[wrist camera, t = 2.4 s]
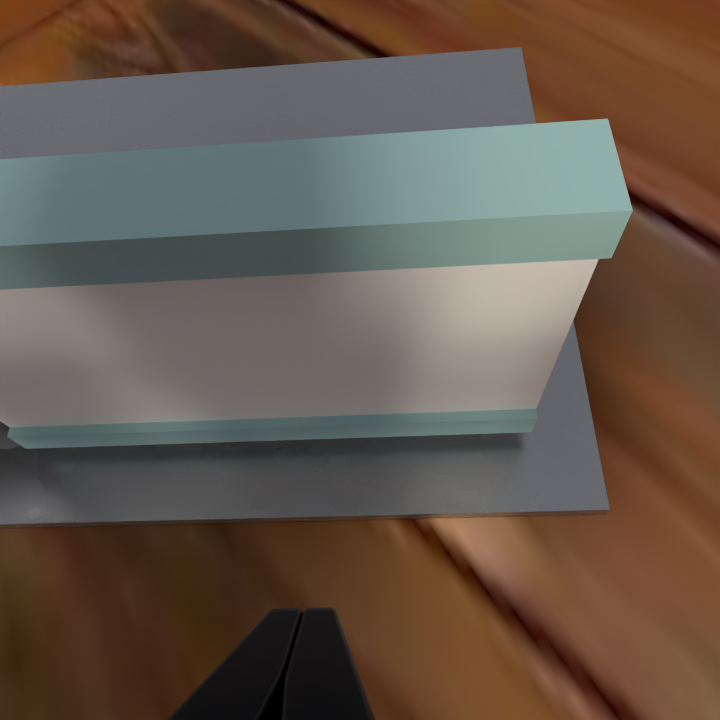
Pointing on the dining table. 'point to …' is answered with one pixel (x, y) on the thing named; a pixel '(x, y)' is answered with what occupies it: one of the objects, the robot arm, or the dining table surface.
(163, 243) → the gate
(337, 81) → the gate post
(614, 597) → the dining table surface
